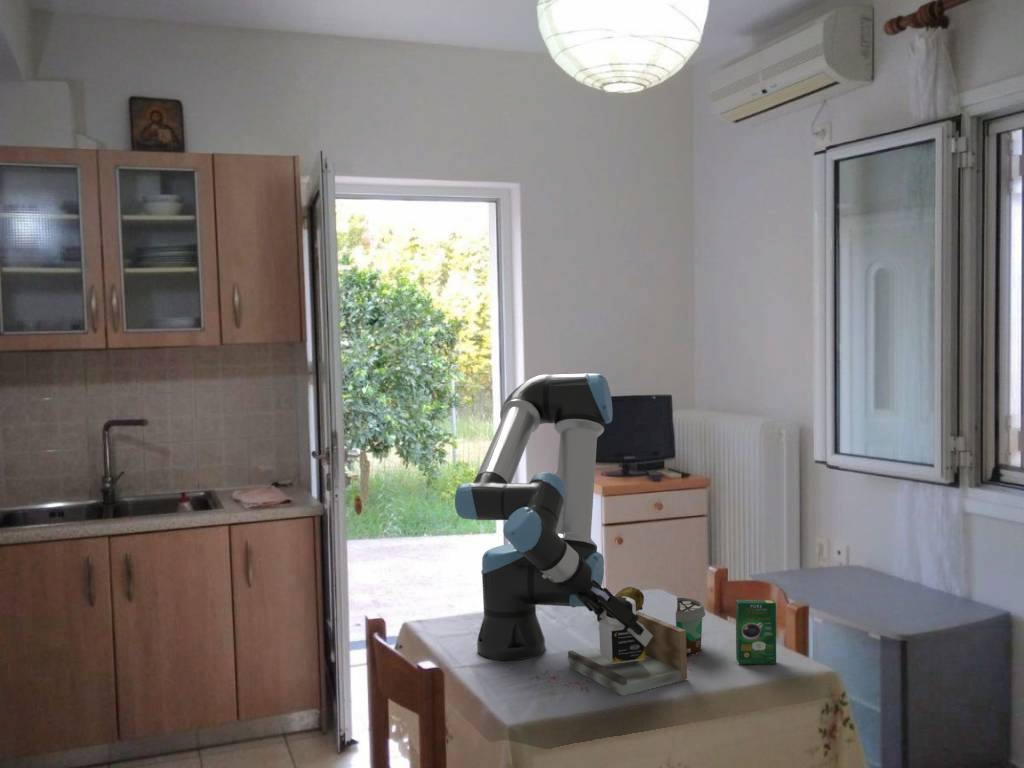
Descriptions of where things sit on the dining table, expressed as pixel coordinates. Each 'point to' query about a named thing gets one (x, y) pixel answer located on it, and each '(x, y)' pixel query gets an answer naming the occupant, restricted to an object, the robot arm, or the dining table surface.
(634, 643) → the medicine bottle
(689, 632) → the food container
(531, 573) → the robot arm
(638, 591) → the potato
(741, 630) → the coffee box
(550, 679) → the dining table surface
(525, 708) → the dining table surface
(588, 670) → the wall board
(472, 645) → the dining table surface
